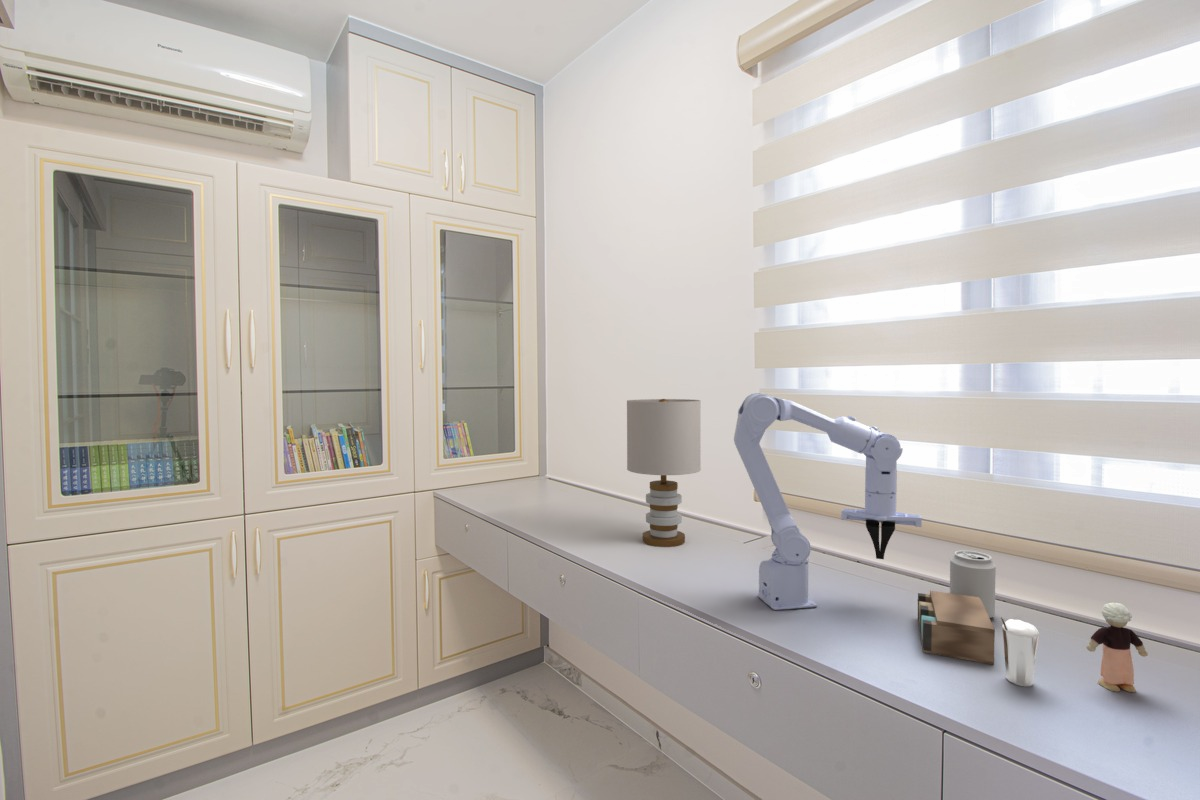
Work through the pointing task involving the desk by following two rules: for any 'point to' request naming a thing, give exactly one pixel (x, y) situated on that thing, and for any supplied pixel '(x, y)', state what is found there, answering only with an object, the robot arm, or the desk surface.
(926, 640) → the walnut block
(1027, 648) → the milkshake
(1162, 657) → the desk surface
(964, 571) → the can
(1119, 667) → the grandmother figurine
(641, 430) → the lamp
